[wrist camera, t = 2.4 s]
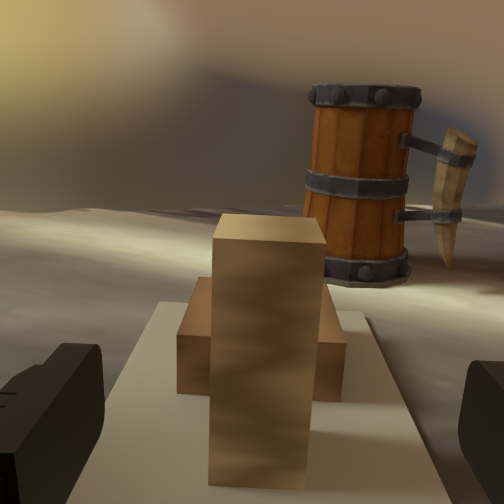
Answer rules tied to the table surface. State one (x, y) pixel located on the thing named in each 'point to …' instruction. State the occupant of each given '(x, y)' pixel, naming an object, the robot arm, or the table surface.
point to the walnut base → (199, 347)
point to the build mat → (197, 435)
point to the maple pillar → (263, 349)
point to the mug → (376, 181)
